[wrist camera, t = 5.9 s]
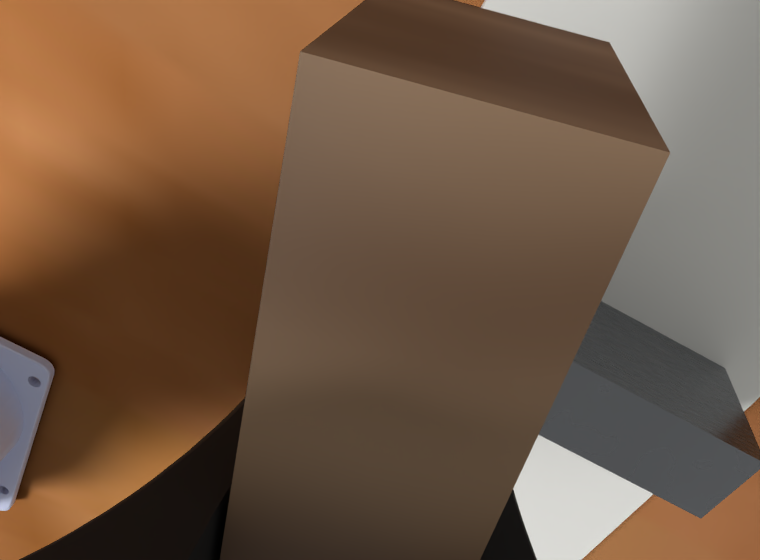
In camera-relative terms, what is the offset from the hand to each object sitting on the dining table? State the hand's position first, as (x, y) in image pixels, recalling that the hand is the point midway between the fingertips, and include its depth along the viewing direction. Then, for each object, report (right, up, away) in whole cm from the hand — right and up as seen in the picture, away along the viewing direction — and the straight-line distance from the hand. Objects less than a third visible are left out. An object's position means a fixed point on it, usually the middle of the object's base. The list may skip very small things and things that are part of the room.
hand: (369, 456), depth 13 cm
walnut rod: (0, +1, +1) cm, 2 cm away
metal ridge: (+6, +3, +8) cm, 11 cm away
